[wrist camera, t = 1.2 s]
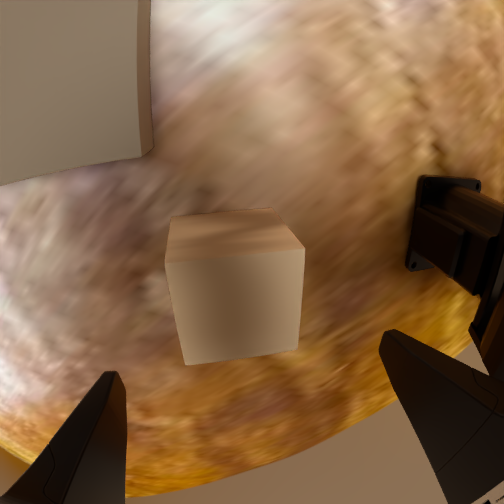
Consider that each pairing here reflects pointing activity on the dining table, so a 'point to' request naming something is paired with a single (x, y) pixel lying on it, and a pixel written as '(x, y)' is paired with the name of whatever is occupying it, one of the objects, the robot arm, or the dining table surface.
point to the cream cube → (234, 284)
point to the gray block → (73, 84)
